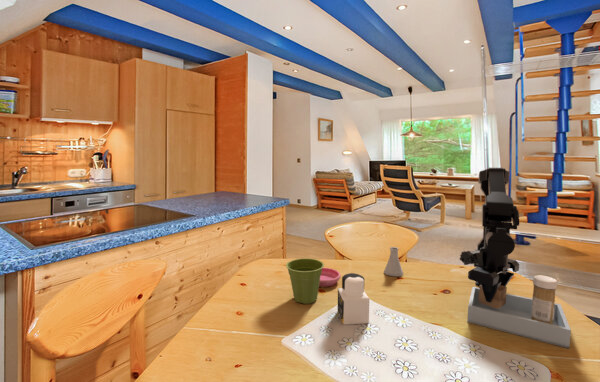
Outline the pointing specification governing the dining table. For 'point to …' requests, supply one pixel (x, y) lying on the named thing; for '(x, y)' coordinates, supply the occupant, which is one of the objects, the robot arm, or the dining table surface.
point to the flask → (393, 264)
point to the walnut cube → (498, 298)
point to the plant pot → (305, 278)
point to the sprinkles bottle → (543, 299)
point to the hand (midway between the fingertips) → (492, 299)
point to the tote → (519, 319)
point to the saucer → (328, 277)
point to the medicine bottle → (353, 300)
